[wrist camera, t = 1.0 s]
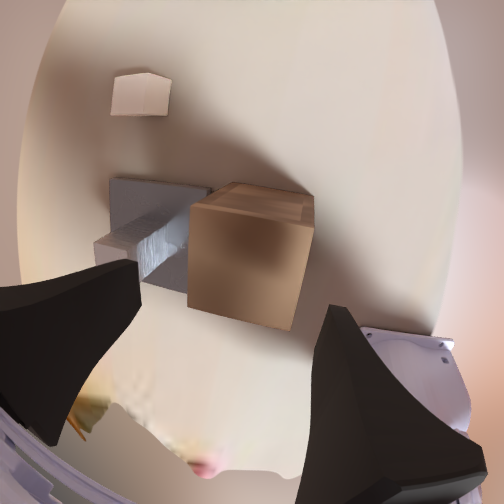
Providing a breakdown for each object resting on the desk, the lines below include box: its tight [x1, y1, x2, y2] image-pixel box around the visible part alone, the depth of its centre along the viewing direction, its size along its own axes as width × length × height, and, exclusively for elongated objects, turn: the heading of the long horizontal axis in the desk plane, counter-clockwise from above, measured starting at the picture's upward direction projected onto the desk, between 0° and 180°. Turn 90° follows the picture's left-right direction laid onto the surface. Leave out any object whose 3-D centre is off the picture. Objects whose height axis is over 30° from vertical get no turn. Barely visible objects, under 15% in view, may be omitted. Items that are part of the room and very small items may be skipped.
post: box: [93, 177, 211, 294], centre depth 18 cm, size 8×8×6 cm
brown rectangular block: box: [187, 182, 314, 331], centre depth 15 cm, size 5×5×7 cm
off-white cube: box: [111, 73, 172, 116], centre depth 15 cm, size 3×3×3 cm
